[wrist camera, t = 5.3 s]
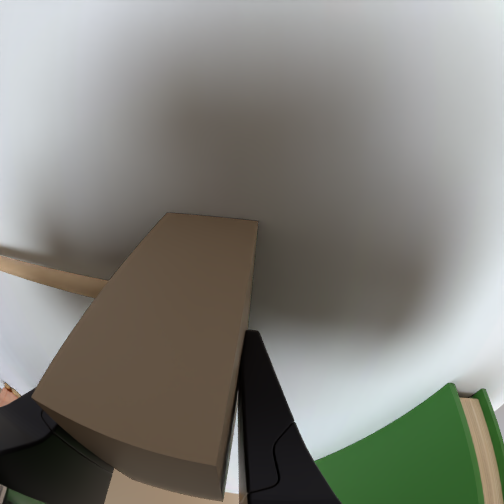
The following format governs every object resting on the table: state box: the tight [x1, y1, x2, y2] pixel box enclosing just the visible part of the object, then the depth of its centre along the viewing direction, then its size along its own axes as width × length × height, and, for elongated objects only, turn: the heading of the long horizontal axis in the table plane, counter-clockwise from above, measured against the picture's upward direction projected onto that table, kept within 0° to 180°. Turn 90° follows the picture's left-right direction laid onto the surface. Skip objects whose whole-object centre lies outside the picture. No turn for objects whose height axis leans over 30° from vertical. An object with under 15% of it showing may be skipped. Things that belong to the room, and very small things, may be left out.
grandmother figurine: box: [0, 383, 21, 407], centre depth 23 cm, size 8×4×13 cm, turn 84°
